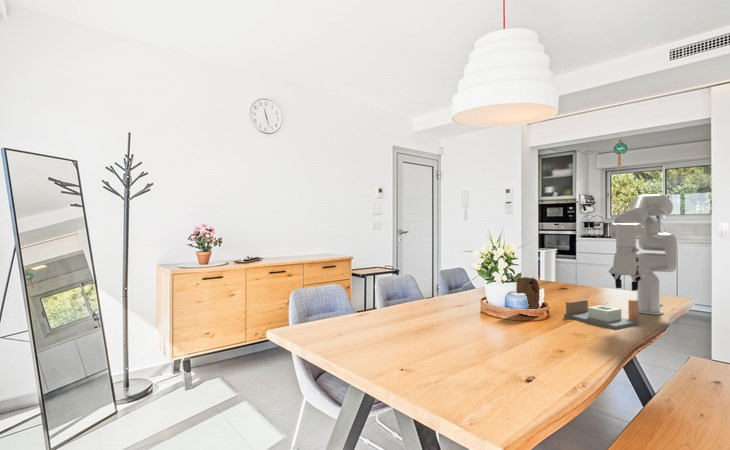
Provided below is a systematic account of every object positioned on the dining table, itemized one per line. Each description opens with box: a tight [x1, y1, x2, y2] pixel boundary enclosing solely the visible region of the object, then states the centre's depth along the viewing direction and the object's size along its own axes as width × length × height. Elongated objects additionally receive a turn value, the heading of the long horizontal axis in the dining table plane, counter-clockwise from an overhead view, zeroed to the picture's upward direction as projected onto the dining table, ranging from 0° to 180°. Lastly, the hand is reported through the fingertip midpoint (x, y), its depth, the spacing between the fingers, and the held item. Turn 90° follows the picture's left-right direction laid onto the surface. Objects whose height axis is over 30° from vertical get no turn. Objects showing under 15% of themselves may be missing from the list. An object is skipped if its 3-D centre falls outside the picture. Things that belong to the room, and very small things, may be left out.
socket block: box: [588, 304, 622, 322], centre depth 184 cm, size 10×10×5 cm
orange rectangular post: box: [627, 299, 640, 323], centre depth 184 cm, size 4×4×10 cm
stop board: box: [563, 299, 639, 330], centre depth 186 cm, size 17×26×8 cm, turn 24°
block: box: [516, 276, 541, 309], centre depth 199 cm, size 11×8×20 cm
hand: (626, 288), depth 174 cm, fingers open, 6 cm apart
